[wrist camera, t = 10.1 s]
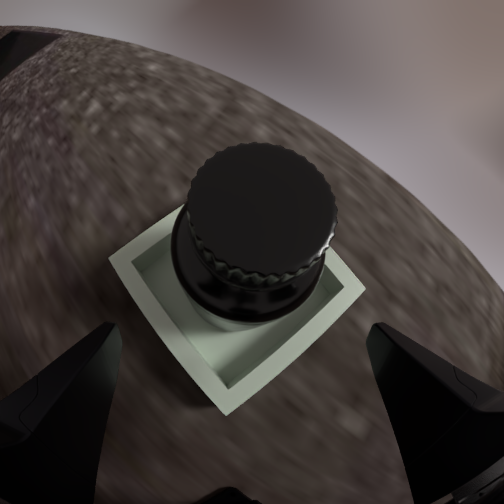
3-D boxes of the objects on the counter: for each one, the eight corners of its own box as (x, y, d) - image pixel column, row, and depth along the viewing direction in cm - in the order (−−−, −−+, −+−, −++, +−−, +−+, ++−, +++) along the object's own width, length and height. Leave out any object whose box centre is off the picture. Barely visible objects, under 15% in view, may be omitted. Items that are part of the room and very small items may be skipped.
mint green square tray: (224, 405, 17) (226, 415, 14) (121, 270, 19) (108, 258, 16) (347, 296, 21) (365, 288, 18) (247, 183, 23) (251, 162, 20)
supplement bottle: (173, 314, 18) (111, 263, 7) (206, 228, 21) (201, 102, 9) (268, 345, 18) (348, 339, 7) (293, 256, 21) (370, 156, 9)
